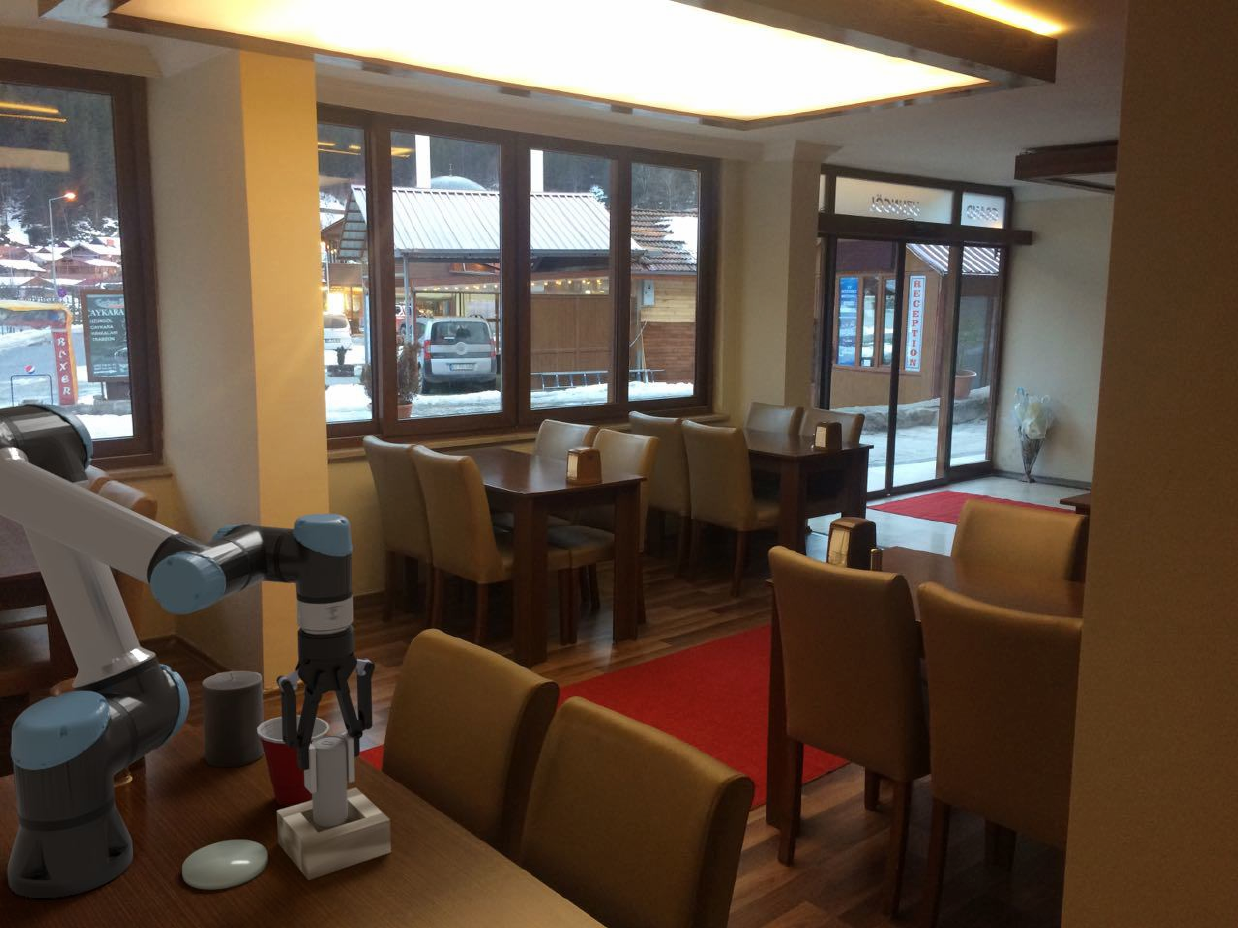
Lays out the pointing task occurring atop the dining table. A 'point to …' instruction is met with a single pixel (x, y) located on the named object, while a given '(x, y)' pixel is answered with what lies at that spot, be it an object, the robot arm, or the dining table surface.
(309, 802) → the birch sleeve
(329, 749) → the beverage can
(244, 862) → the pale green cabochon
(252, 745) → the pillar candle
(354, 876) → the dining table surface
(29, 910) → the dining table surface
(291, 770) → the plastic cup
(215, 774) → the dining table surface
